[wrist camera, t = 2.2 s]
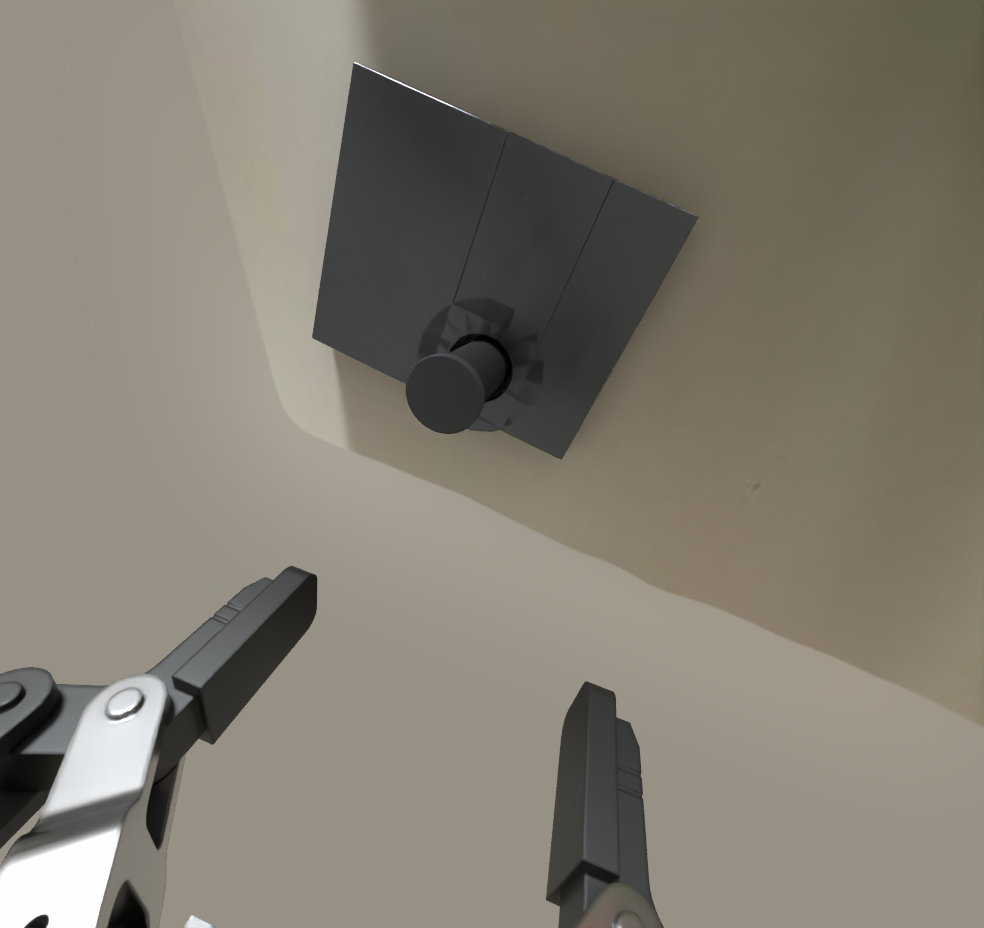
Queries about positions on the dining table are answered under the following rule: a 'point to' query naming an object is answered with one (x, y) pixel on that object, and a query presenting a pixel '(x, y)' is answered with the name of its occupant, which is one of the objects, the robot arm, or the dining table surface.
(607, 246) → the plate
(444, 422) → the plug
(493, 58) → the dining table surface
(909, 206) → the dining table surface
